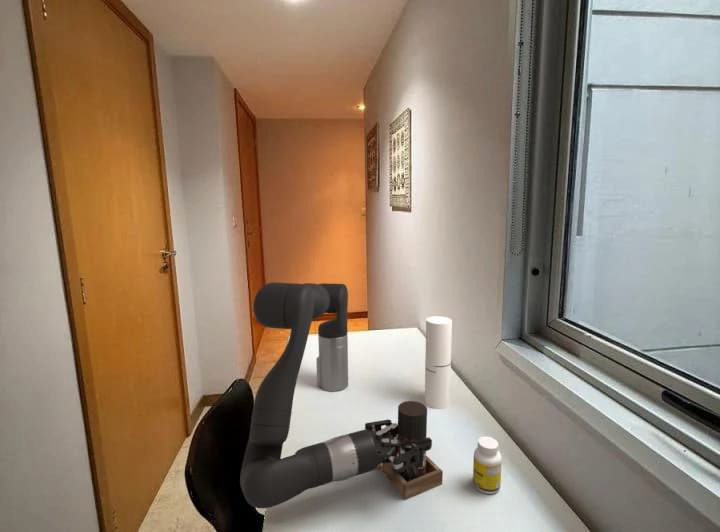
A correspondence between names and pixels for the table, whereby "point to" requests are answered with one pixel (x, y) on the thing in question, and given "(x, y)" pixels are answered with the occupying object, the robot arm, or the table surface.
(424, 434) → the deodorant
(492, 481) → the supplement bottle
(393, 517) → the table surface
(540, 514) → the table surface
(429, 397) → the cylindrical container
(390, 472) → the socket track
